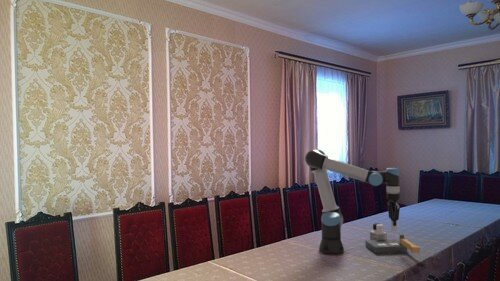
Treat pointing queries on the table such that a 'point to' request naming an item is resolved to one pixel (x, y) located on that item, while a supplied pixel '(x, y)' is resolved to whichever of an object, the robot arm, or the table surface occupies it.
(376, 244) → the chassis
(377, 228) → the container
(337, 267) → the table surface
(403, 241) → the bar
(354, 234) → the table surface
